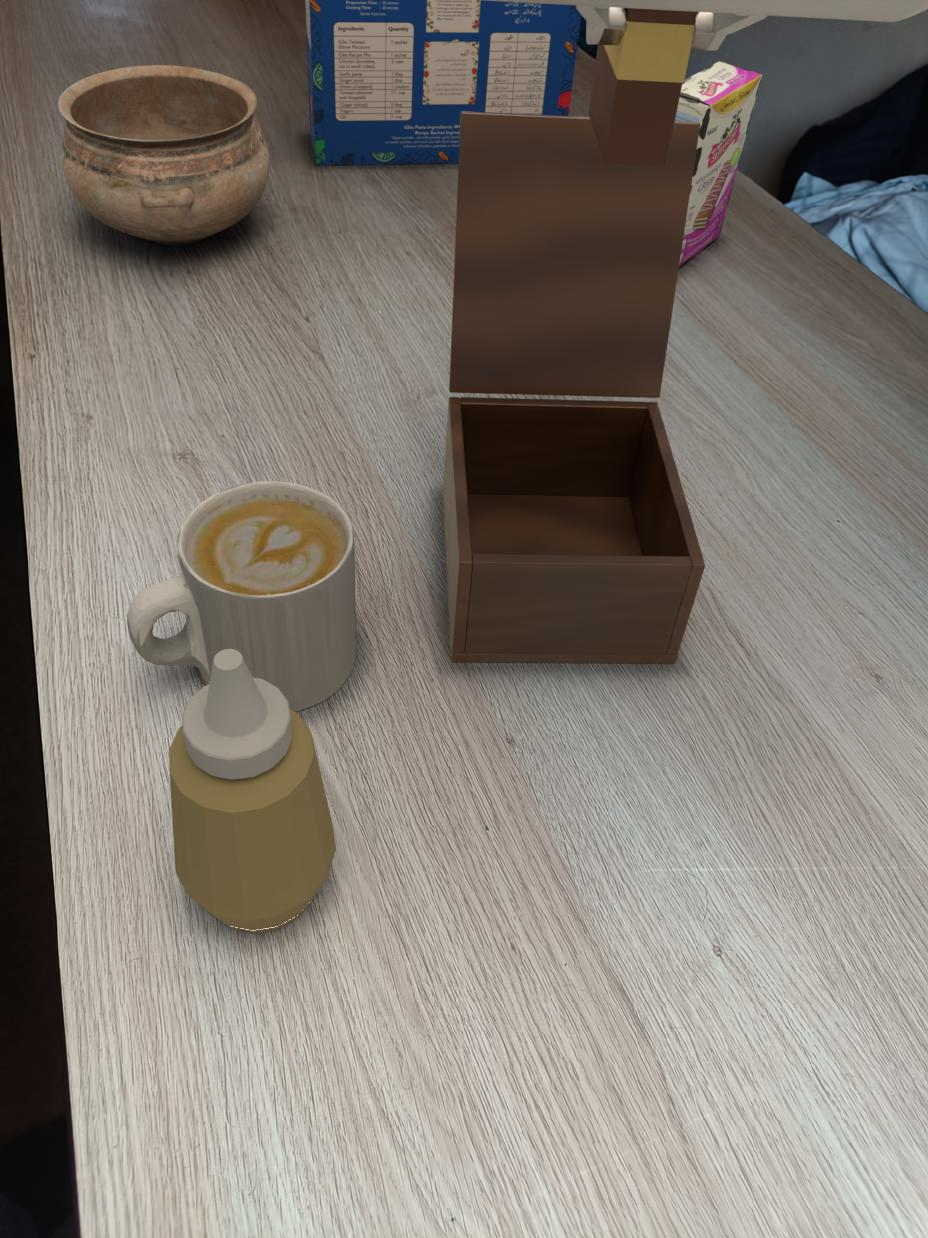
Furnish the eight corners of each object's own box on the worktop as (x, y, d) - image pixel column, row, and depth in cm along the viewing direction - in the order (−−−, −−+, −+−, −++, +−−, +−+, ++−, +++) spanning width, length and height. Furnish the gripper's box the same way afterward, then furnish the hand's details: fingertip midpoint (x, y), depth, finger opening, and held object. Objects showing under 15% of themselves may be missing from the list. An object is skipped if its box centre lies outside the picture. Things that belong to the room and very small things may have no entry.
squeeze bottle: (167, 845, 58) (108, 616, 45) (311, 801, 60) (294, 571, 47) (204, 978, 53) (149, 763, 40) (358, 923, 55) (354, 704, 42)
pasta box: (546, 132, 127) (579, -151, 107) (562, 161, 122) (600, -132, 102) (310, 135, 122) (298, -161, 102) (316, 165, 117) (304, -141, 97)
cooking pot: (286, 288, 99) (277, 156, 90) (72, 299, 95) (41, 162, 86) (263, 171, 115) (254, 49, 106) (81, 176, 112) (56, 51, 103)
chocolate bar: (646, 116, 55) (688, -114, 48) (667, 167, 51) (716, -77, 44) (586, 113, 55) (620, -118, 48) (603, 164, 51) (642, -81, 43)
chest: (675, 663, 69) (705, 565, 63) (451, 662, 68) (459, 562, 62) (635, 498, 81) (657, 401, 74) (442, 495, 80) (448, 396, 73)
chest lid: (700, 123, 65) (683, 114, 69) (461, 112, 64) (457, 103, 67) (659, 398, 74) (646, 377, 78) (449, 392, 73) (446, 371, 76)
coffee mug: (340, 588, 72) (336, 471, 65) (370, 699, 66) (370, 583, 58) (136, 617, 69) (108, 498, 62) (147, 737, 63) (117, 620, 55)
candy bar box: (672, 278, 105) (711, 104, 93) (628, 260, 106) (661, 88, 95) (723, 238, 111) (765, 71, 99) (680, 222, 113) (717, 57, 101)
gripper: (1069, -272, 35) (874, -27, 49) (446, -320, 33) (427, -53, 47) (1064, -77, 35) (872, 112, 49) (444, -115, 34) (426, 91, 47)
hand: (650, 31), depth 48 cm, fingers closed on chocolate bar, 3 cm apart
